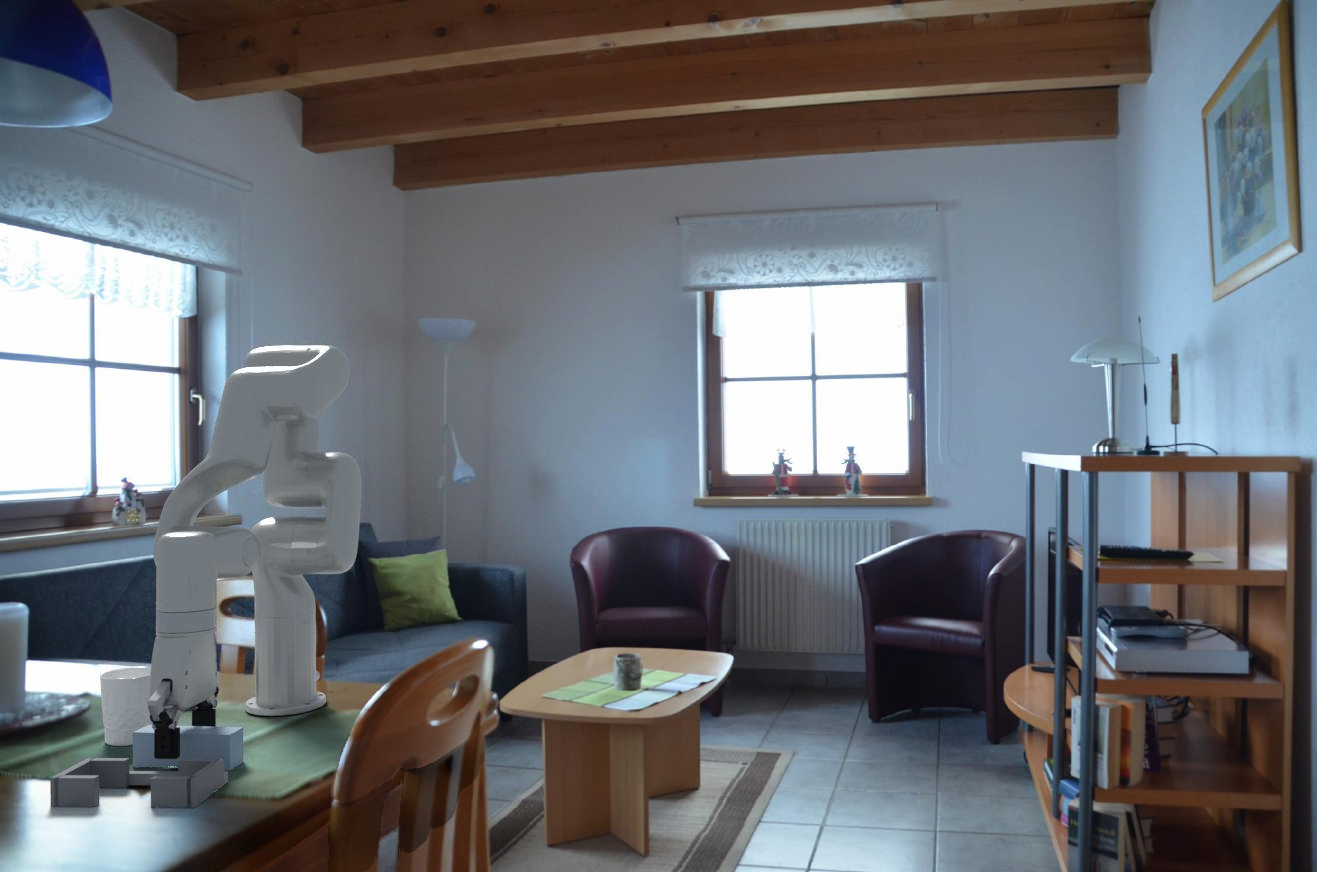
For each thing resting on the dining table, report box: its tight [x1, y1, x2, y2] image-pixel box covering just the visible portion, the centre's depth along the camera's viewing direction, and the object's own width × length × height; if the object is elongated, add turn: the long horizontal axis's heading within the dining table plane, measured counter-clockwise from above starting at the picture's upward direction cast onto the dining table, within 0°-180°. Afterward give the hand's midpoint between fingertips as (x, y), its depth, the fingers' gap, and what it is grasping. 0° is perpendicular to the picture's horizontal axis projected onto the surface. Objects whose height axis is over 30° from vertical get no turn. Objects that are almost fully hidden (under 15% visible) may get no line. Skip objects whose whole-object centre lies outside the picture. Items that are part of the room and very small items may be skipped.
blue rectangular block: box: [132, 725, 244, 771], centre depth 137 cm, size 14×4×5 cm, turn 84°
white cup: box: [99, 666, 152, 747], centre depth 149 cm, size 8×8×10 cm
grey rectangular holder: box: [49, 757, 229, 809], centre depth 126 cm, size 8×18×4 cm, turn 88°
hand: (186, 747), depth 137 cm, fingers open, 9 cm apart
